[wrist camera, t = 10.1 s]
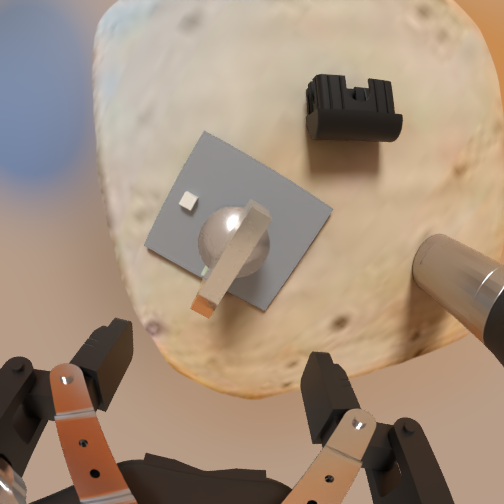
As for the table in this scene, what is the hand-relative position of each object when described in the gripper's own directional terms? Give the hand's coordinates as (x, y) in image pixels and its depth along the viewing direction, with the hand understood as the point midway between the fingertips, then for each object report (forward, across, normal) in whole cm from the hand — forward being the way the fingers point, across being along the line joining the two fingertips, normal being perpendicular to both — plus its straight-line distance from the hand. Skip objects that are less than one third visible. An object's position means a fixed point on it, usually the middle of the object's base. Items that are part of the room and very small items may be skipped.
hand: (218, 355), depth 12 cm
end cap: (+25, -10, -17) cm, 32 cm away
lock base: (+25, 0, 0) cm, 25 cm away
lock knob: (+18, 0, 0) cm, 18 cm away
